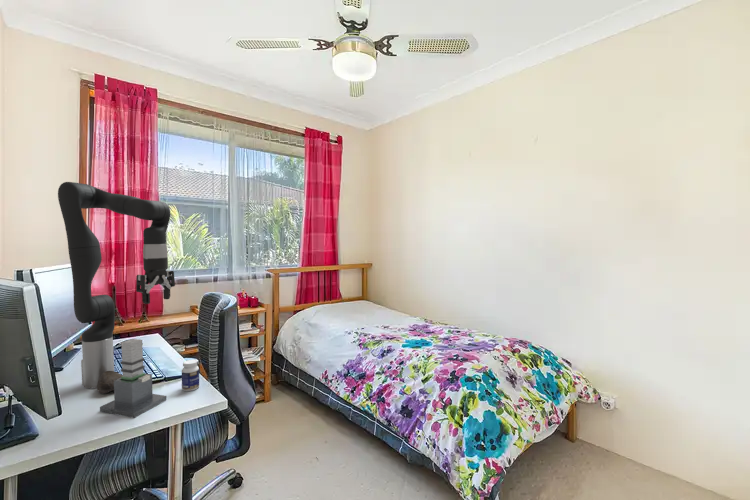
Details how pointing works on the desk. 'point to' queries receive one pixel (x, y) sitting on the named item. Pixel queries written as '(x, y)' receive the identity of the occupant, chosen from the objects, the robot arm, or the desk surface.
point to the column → (132, 360)
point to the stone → (107, 381)
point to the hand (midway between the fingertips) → (156, 301)
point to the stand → (133, 397)
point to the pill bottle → (190, 375)
